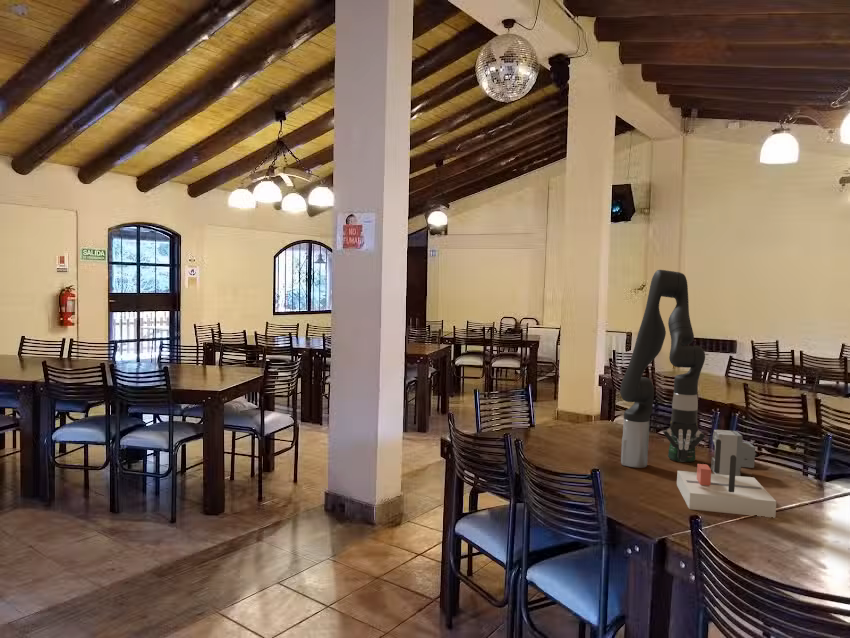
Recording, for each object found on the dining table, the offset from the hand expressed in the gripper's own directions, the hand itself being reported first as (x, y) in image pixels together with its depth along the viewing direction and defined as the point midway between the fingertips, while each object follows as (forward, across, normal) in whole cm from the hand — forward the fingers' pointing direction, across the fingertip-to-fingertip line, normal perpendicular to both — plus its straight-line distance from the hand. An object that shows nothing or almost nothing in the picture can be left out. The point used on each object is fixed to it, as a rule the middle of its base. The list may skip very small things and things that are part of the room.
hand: (682, 460), depth 205 cm
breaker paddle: (+6, +7, 0) cm, 9 cm away
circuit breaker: (+12, +24, +33) cm, 42 cm away
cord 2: (+7, +13, -10) cm, 17 cm away
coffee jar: (+12, +8, +46) cm, 48 cm away
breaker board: (+12, +13, 0) cm, 17 cm away
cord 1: (+6, +13, +10) cm, 17 cm away
